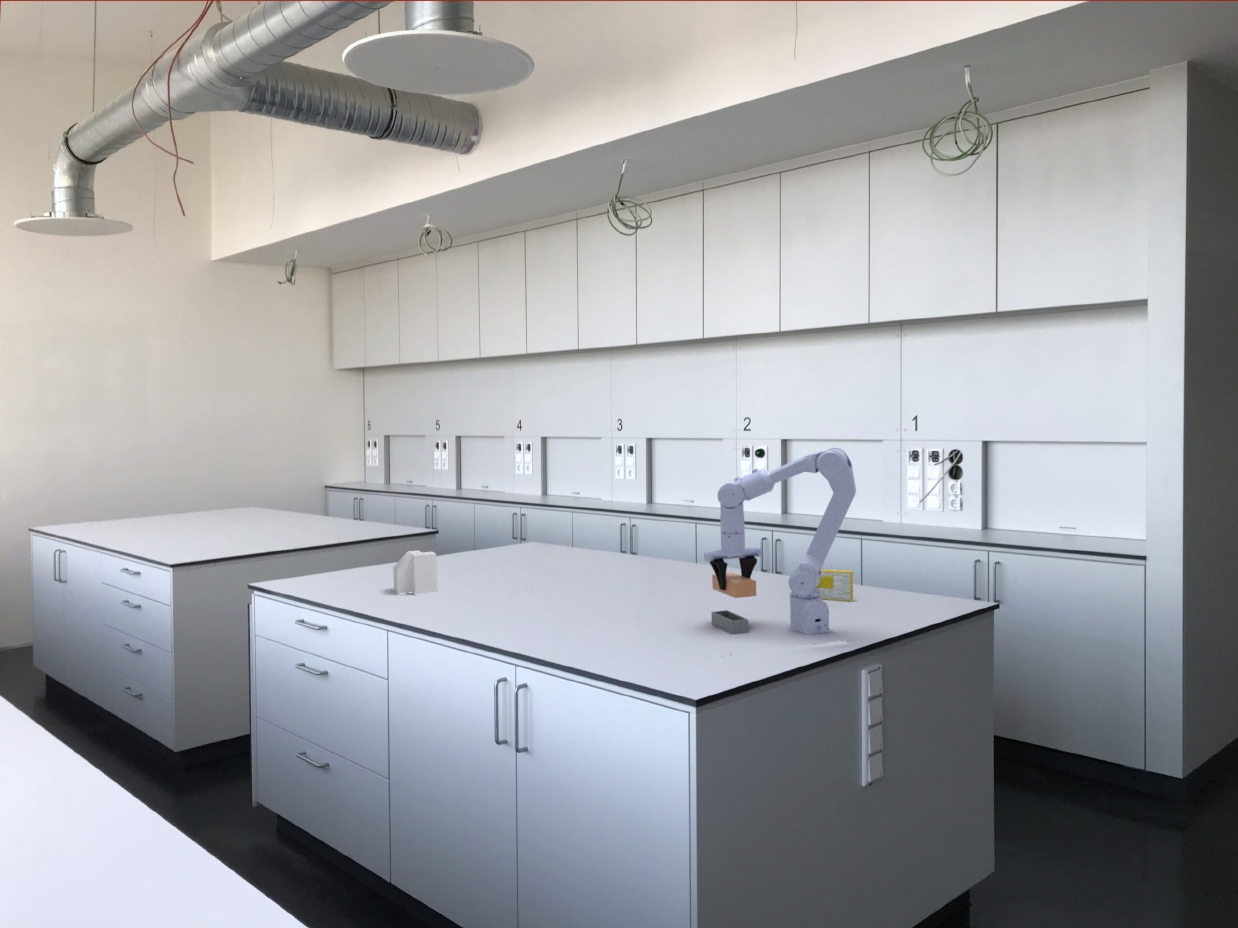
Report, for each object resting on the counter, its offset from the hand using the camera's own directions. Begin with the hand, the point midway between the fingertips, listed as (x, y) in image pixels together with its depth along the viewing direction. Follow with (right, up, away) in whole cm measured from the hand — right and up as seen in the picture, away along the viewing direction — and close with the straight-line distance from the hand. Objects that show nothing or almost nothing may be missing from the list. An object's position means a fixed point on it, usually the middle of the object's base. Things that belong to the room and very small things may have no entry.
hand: (734, 588), depth 231 cm
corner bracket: (-90, -9, +61) cm, 109 cm away
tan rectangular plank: (0, -1, 0) cm, 1 cm away
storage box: (-1, -10, -3) cm, 11 cm away
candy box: (+29, -8, +33) cm, 44 cm away
